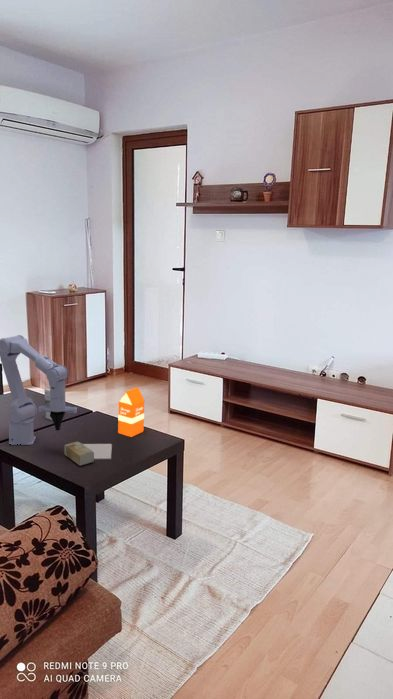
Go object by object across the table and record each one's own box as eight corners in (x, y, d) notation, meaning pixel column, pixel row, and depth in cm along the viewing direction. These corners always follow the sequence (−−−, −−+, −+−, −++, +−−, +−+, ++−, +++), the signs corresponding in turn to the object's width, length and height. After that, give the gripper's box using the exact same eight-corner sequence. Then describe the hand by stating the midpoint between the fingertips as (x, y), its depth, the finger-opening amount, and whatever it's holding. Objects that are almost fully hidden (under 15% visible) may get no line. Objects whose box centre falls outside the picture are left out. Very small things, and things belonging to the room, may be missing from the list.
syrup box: (62, 418, 239) (62, 388, 236) (52, 421, 234) (52, 391, 231) (54, 415, 242) (53, 386, 239) (44, 418, 237) (43, 388, 234)
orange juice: (117, 432, 225) (118, 389, 220) (130, 427, 232) (131, 385, 228) (131, 437, 221) (132, 393, 217) (144, 431, 228) (145, 388, 224)
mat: (74, 459, 196) (74, 458, 196) (77, 444, 210) (77, 444, 210) (110, 459, 198) (110, 458, 198) (111, 444, 212) (111, 443, 212)
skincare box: (78, 440, 202) (94, 451, 194) (78, 451, 203) (94, 461, 195) (63, 444, 198) (79, 455, 189) (63, 455, 199) (79, 466, 190)
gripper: (78, 394, 202) (78, 426, 205) (41, 392, 201) (41, 425, 204) (75, 399, 195) (75, 432, 198) (36, 398, 194) (37, 431, 197)
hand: (57, 429), depth 201 cm, fingers closed
